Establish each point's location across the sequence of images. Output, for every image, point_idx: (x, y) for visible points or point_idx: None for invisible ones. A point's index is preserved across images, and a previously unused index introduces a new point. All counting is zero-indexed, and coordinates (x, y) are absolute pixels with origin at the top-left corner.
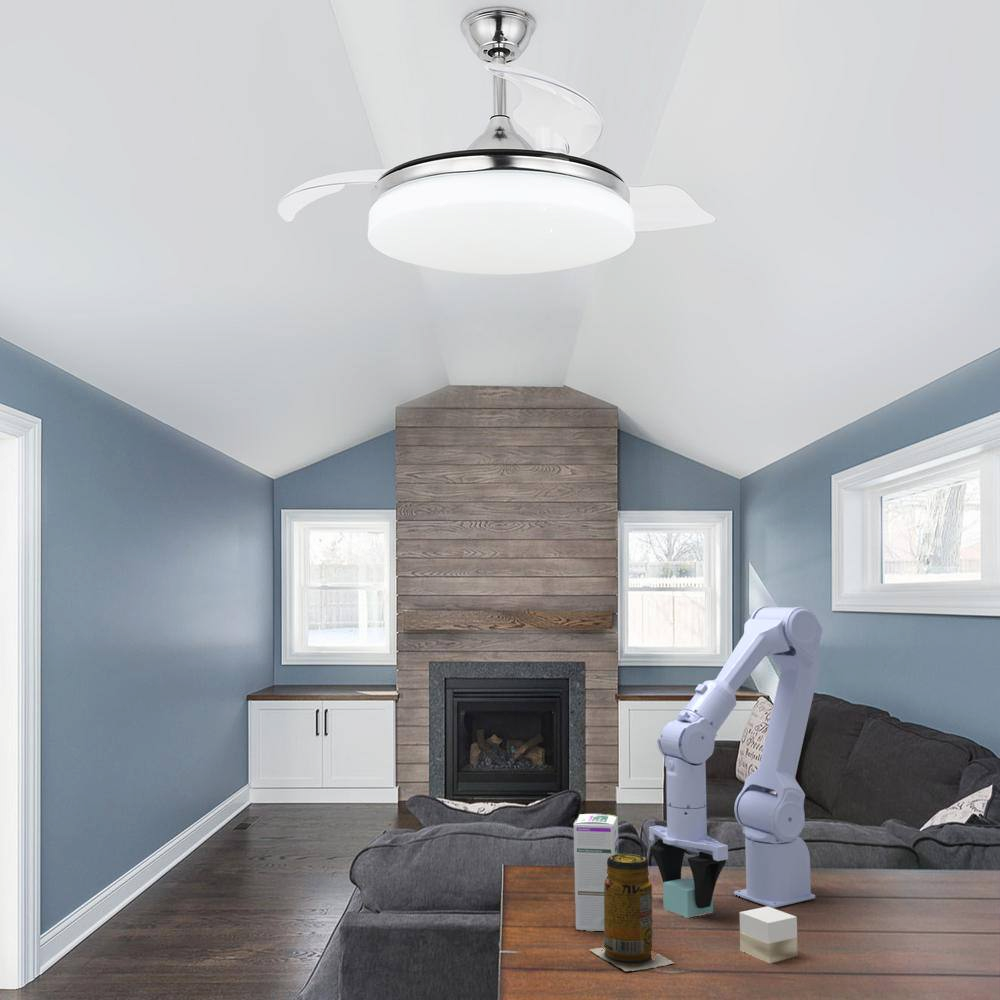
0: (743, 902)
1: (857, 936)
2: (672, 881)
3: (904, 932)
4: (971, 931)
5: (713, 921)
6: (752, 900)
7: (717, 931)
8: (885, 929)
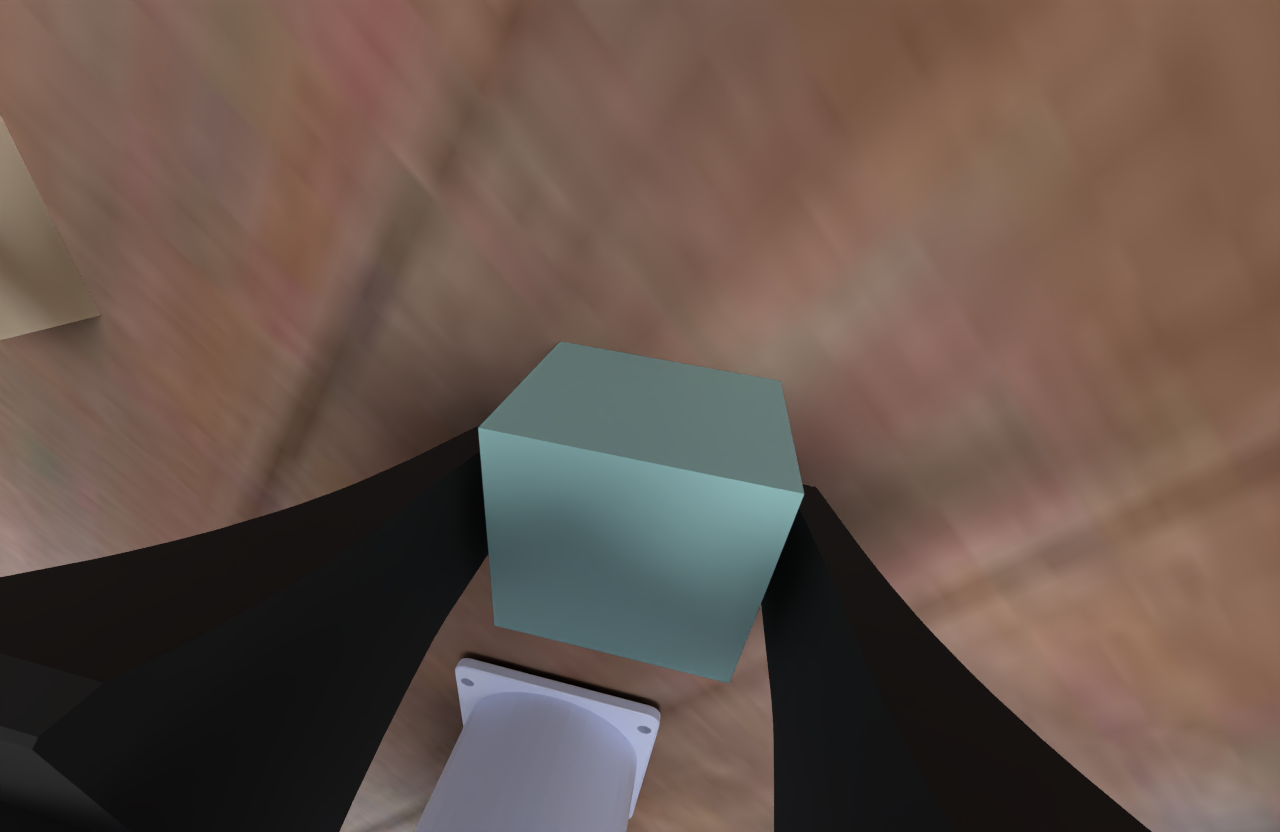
0: (583, 665)
1: None
2: (750, 556)
3: None
4: None
5: (459, 407)
6: (556, 683)
7: (318, 288)
8: None
